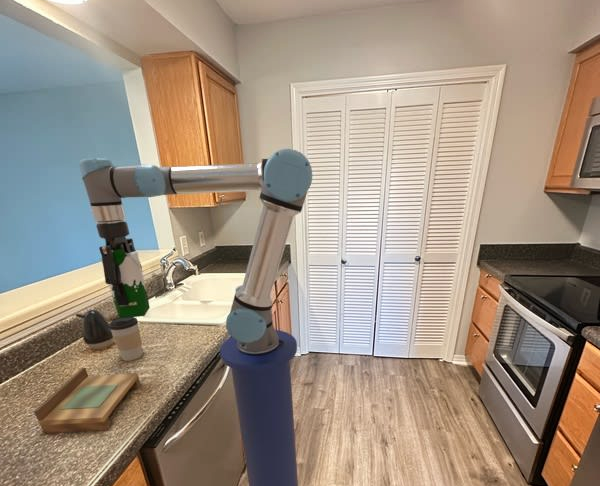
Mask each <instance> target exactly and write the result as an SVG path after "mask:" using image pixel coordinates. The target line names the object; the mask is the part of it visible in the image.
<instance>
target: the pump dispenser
mask: <svg viewBox="0 0 600 486" xmlns="http://www.w3.org/2000/svg"><path fill="white" fill-rule="evenodd" d="M75 317H77V318H81V319H82V324H81V325H82V326H81V331H82V338H83V342H84V343H85V344H86V345H87V346H88V347H89V348H90V349H93V350H103V349H106V348H108V347H110V346H111V345H112V344H113V343H114V342H115V340H114V338H113V335H112V332H111V329H110V328H109V324H110V323H111V322H110V321H108V319H107V318H106V316H104V314H102V312H100V311H99V310H97V309H89V310H87V311H86V312H85V313H84V314H82V313H76V314H75Z"/></svg>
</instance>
